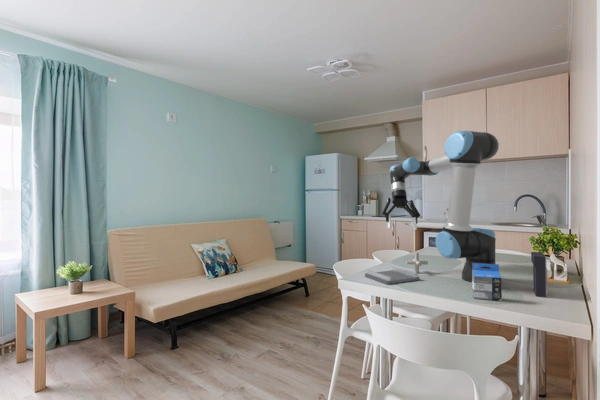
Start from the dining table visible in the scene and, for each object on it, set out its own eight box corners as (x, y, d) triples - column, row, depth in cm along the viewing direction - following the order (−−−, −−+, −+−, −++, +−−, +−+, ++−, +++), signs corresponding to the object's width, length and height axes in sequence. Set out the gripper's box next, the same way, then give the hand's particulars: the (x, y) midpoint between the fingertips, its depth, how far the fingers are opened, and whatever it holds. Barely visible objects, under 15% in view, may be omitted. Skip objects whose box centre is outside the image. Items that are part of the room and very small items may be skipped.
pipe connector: (424, 270, 165) (424, 251, 165) (430, 275, 155) (430, 254, 155) (404, 270, 166) (404, 250, 166) (409, 274, 156) (408, 254, 156)
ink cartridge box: (473, 298, 117) (473, 264, 118) (472, 295, 121) (471, 262, 121) (502, 301, 114) (501, 266, 114) (499, 298, 118) (499, 264, 118)
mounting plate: (419, 280, 145) (419, 273, 145) (386, 284, 138) (386, 277, 138) (395, 272, 160) (395, 266, 160) (364, 276, 153) (364, 270, 153)
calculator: (548, 297, 118) (547, 256, 118) (533, 296, 120) (533, 255, 120) (545, 290, 127) (544, 252, 127) (531, 289, 129) (531, 251, 130)
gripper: (417, 196, 181) (422, 232, 173) (374, 192, 179) (376, 229, 170) (423, 190, 174) (428, 228, 166) (379, 186, 172) (381, 224, 163)
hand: (402, 228), depth 168 cm, fingers open, 13 cm apart
